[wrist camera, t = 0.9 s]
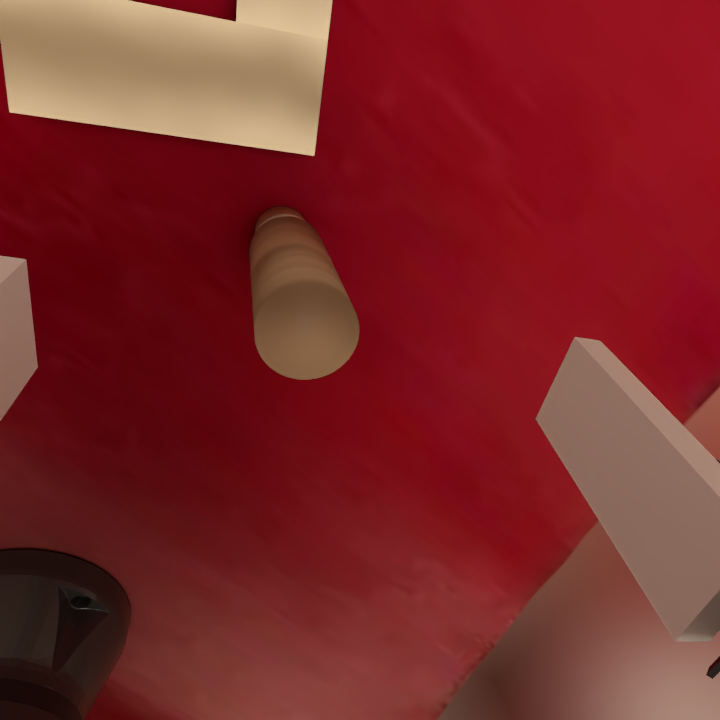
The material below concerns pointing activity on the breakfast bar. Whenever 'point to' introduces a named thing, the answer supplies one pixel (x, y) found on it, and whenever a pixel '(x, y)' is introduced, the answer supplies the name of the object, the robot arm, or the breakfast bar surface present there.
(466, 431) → the breakfast bar surface
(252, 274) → the peg
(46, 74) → the board
